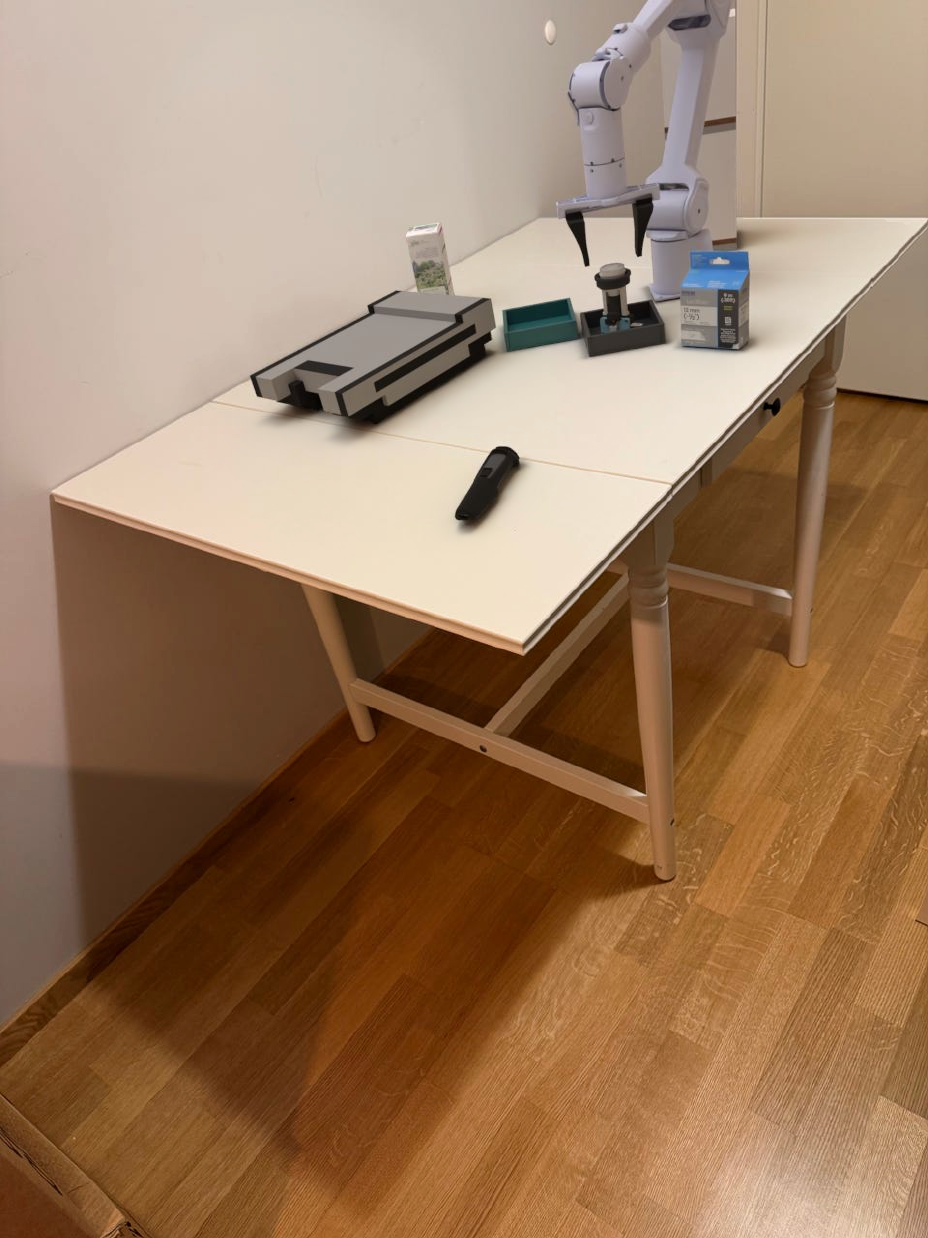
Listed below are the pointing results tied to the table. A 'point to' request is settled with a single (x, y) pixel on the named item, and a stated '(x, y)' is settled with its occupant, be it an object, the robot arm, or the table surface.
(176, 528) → the table surface
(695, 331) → the label tape box
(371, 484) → the table surface
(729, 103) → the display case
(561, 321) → the box
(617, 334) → the right tote
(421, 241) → the syrup box
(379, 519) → the table surface
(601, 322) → the push button
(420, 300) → the game console
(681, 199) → the robot arm
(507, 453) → the electric trimmer
